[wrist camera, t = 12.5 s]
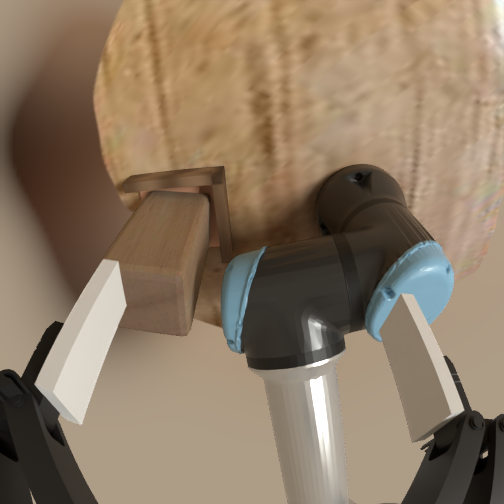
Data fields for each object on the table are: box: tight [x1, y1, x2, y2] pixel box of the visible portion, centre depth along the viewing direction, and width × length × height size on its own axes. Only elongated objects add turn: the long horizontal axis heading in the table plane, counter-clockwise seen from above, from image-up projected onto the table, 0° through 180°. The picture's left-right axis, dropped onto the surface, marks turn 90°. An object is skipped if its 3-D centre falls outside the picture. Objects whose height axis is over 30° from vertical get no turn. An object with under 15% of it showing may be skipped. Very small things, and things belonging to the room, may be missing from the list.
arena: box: [123, 166, 233, 263], centre depth 45 cm, size 15×15×4 cm
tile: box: [140, 185, 220, 247], centre depth 46 cm, size 12×12×1 cm
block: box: [99, 191, 211, 336], centre depth 38 cm, size 10×10×20 cm
